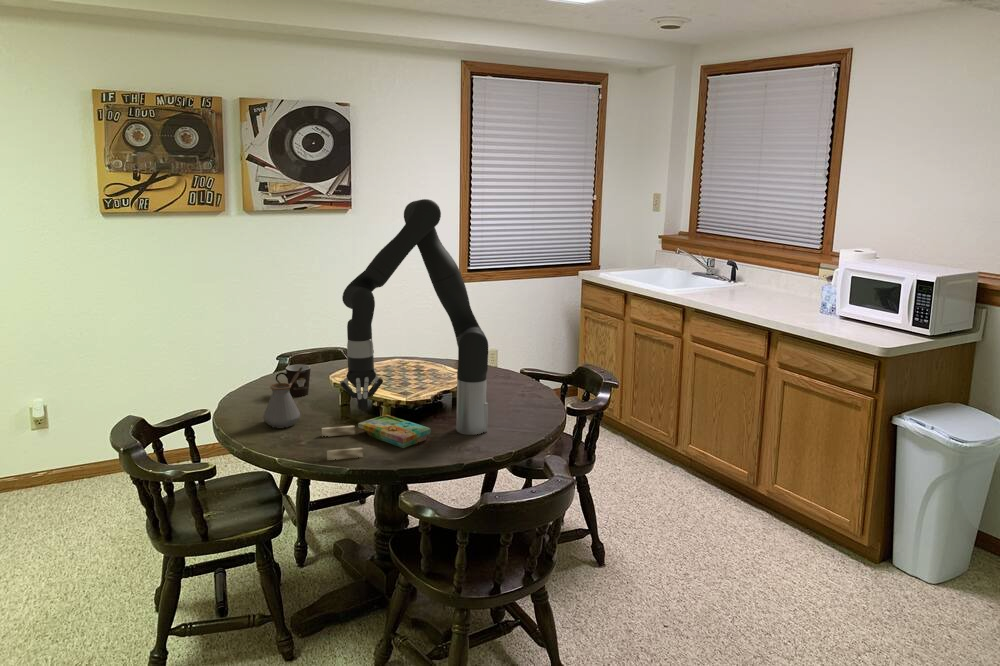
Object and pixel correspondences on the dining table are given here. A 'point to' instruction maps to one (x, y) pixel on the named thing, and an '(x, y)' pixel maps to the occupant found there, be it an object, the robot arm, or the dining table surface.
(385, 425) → the puzzle game
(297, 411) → the coffee pot
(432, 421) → the dining table surface
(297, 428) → the dining table surface
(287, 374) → the coffee mug
